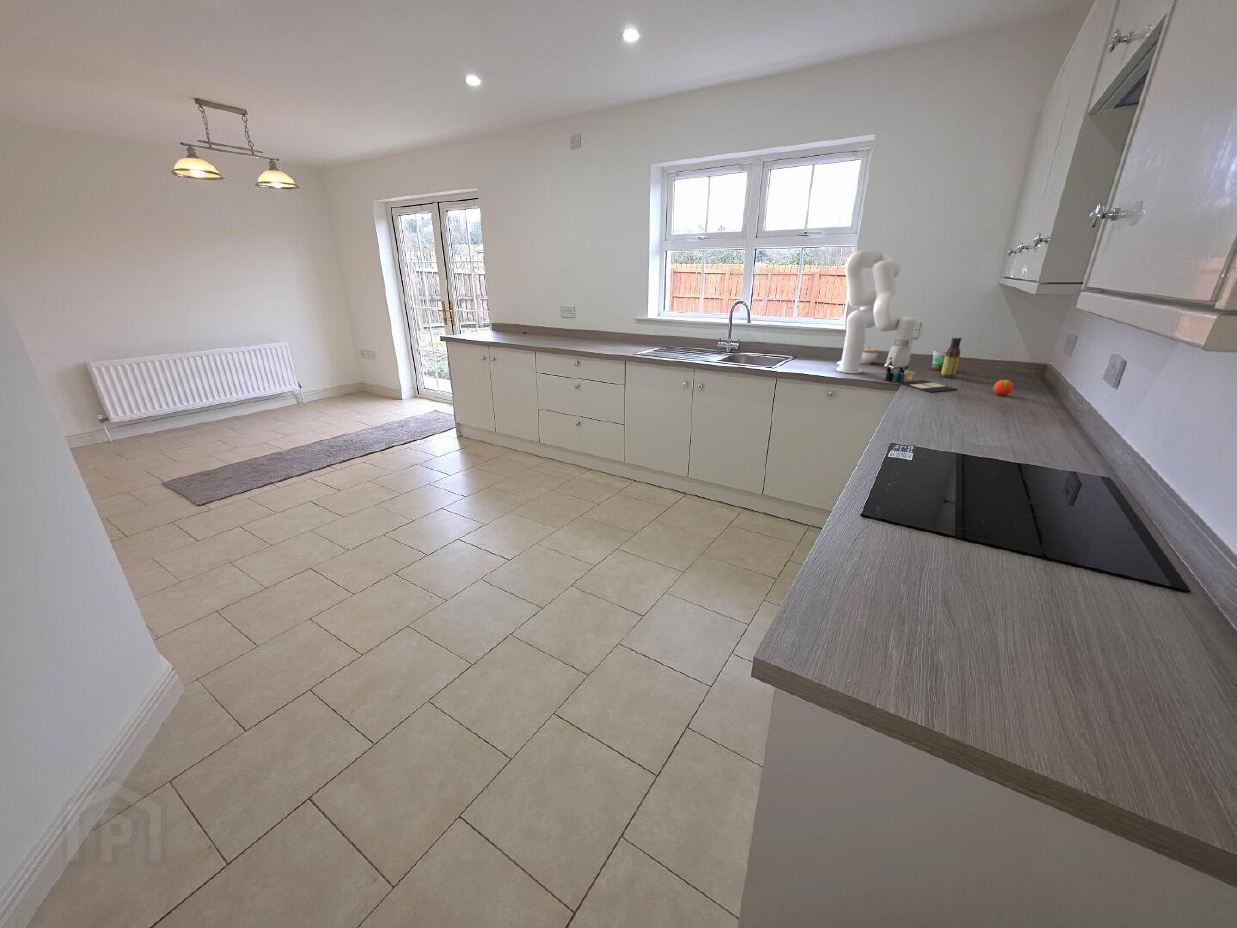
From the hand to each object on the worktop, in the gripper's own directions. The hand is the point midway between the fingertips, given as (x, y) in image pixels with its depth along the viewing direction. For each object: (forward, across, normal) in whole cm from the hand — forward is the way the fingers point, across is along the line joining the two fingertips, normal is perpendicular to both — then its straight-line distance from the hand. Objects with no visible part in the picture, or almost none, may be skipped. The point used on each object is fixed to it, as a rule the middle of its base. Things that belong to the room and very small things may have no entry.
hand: (894, 379), depth 241 cm
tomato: (+1, -24, +36) cm, 43 cm away
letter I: (+1, -9, 0) cm, 9 cm away
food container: (+1, -43, -12) cm, 45 cm away
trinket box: (+1, -20, -40) cm, 45 cm away
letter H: (+1, 0, 0) cm, 1 cm away
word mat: (+1, -6, +14) cm, 15 cm away
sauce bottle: (+1, -34, +1) cm, 34 cm away
